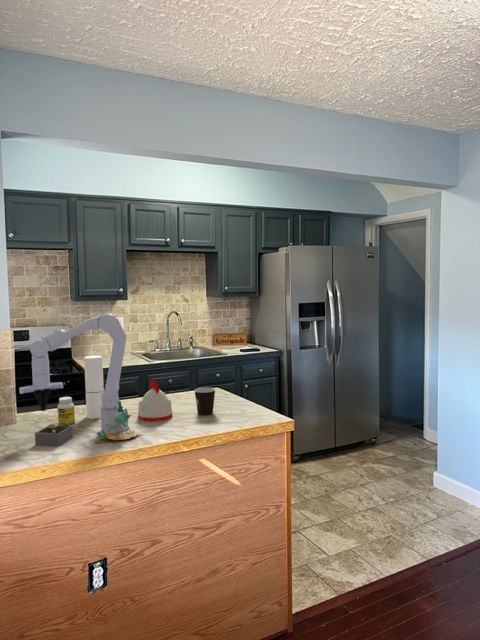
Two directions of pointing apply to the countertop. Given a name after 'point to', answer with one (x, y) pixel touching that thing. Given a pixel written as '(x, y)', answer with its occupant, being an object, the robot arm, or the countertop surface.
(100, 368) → the cylindrical container
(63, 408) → the pill bottle
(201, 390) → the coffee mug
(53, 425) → the plunger
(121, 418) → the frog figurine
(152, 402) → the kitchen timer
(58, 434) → the gray open box
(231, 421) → the countertop surface
